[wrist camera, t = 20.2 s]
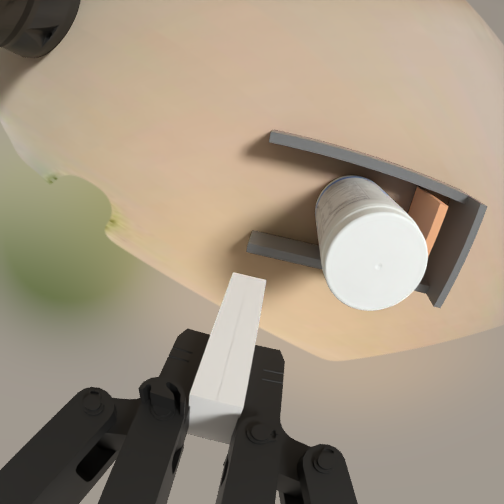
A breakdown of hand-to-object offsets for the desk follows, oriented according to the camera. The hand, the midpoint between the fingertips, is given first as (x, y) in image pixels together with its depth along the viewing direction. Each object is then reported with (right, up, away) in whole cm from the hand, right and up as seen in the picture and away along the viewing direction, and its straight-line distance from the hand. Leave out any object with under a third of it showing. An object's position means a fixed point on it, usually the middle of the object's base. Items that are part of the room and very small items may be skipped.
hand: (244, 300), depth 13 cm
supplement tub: (+13, +8, +22) cm, 27 cm away
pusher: (+22, +5, +21) cm, 31 cm away
